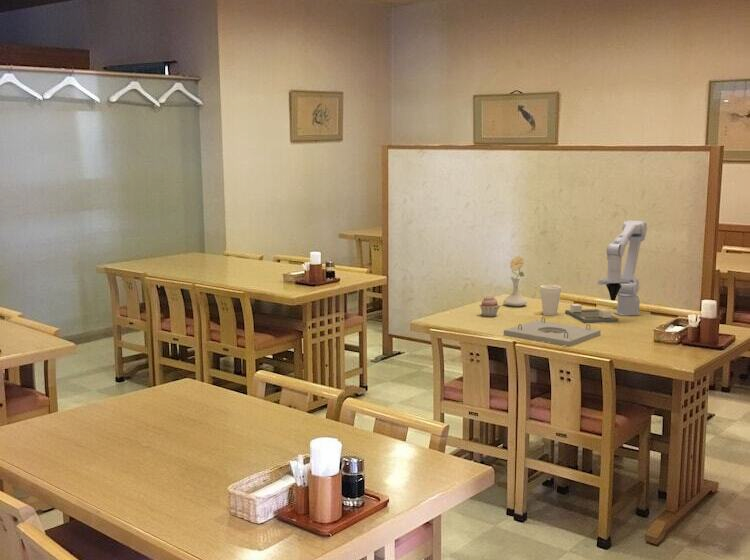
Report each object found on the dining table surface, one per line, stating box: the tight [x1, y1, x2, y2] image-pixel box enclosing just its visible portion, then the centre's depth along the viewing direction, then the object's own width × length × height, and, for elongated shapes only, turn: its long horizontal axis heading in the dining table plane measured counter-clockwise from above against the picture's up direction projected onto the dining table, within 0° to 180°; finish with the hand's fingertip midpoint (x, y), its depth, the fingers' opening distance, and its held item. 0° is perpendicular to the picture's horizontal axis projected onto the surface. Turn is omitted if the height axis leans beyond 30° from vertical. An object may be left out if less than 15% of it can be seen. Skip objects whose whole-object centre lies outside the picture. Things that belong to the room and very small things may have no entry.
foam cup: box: [540, 284, 562, 316], centre depth 383 cm, size 10×9×13 cm
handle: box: [569, 303, 583, 312], centre depth 383 cm, size 4×4×3 cm
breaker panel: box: [564, 308, 619, 324], centre depth 377 cm, size 16×22×2 cm
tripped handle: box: [598, 308, 613, 318], centre depth 370 cm, size 4×4×3 cm
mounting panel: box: [503, 316, 602, 347], centre depth 341 cm, size 27×5×30 cm
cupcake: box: [479, 294, 501, 318], centre depth 380 cm, size 9×9×10 cm
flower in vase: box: [503, 255, 528, 307], centre depth 402 cm, size 13×11×25 cm
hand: (612, 300), depth 370 cm, fingers closed
